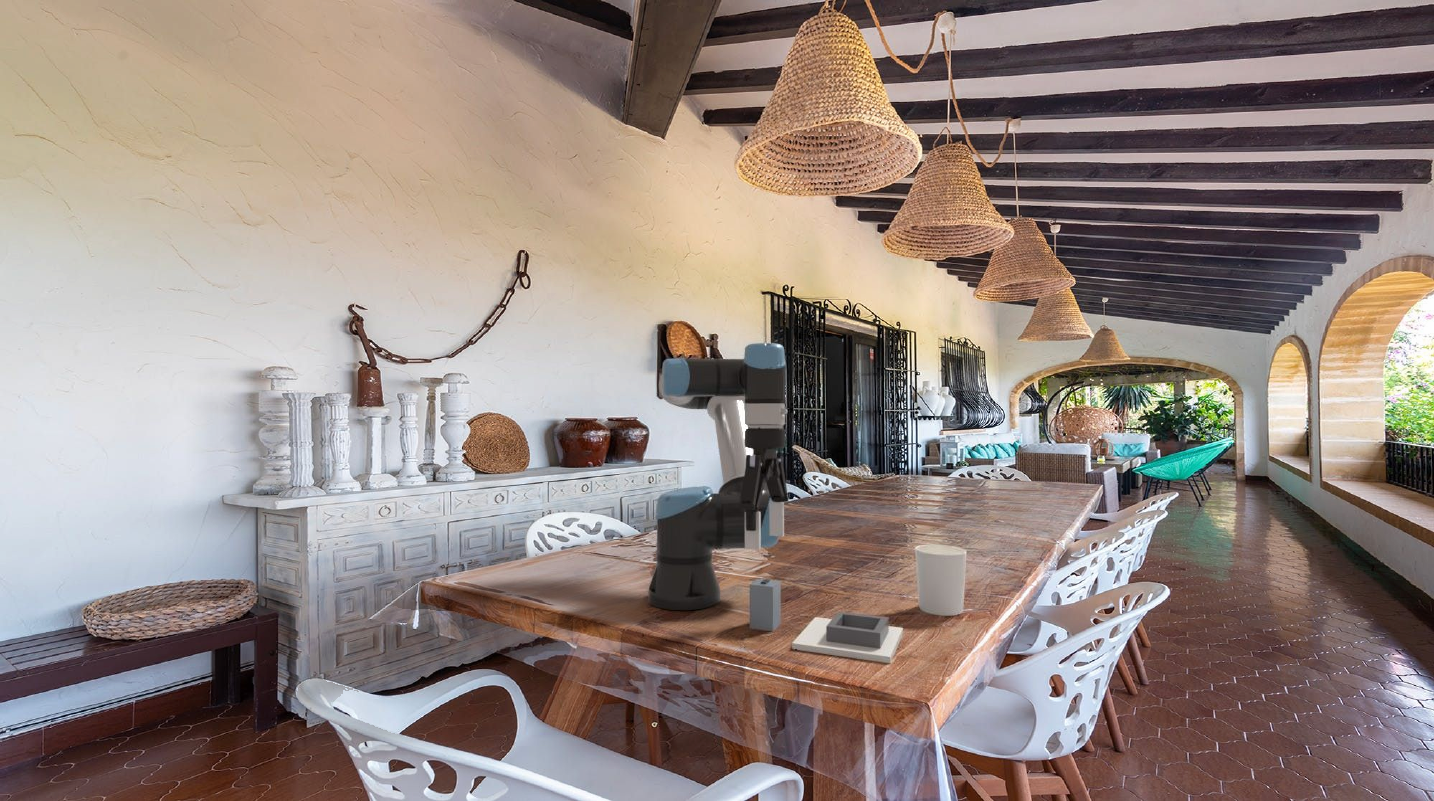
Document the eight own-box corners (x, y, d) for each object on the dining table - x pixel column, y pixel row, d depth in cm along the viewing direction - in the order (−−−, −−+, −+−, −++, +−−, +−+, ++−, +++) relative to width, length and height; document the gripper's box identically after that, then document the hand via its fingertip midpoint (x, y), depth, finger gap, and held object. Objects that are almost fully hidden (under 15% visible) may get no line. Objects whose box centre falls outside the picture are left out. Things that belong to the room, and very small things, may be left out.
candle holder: (908, 611, 130) (908, 550, 131) (923, 600, 139) (923, 542, 139) (960, 620, 125) (959, 556, 125) (972, 607, 133) (971, 547, 133)
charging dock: (792, 649, 110) (792, 628, 110) (815, 622, 124) (815, 603, 124) (890, 663, 104) (890, 641, 104) (903, 633, 118) (903, 613, 118)
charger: (749, 628, 121) (749, 582, 121) (757, 621, 125) (757, 577, 125) (773, 631, 119) (772, 585, 119) (780, 624, 123) (780, 579, 123)
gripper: (761, 428, 110) (762, 557, 109) (802, 425, 132) (803, 532, 132) (720, 428, 112) (720, 553, 112) (767, 425, 135) (767, 529, 135)
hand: (765, 542), depth 122 cm, fingers open, 13 cm apart
